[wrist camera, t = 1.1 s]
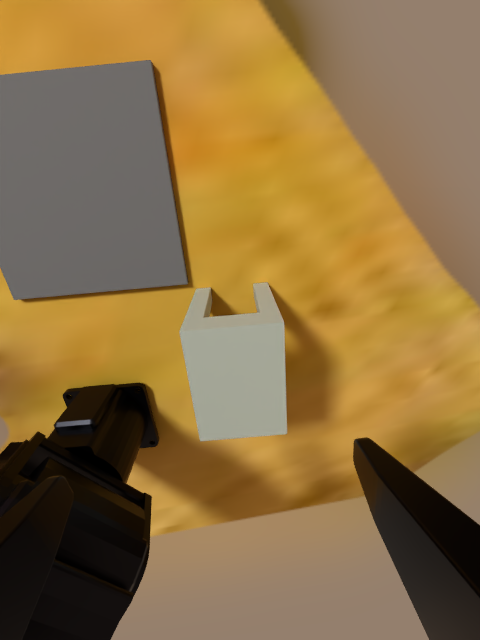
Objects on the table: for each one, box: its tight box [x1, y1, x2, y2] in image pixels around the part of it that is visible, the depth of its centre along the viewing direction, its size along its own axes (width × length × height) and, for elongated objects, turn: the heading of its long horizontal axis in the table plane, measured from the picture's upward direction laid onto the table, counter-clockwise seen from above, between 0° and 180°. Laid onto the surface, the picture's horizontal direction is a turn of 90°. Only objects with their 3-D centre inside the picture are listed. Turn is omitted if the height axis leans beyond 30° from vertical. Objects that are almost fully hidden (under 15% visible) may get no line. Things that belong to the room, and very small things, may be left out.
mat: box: [0, 60, 188, 300], centre depth 17 cm, size 12×12×1 cm
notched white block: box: [179, 282, 287, 441], centre depth 18 cm, size 7×5×7 cm
